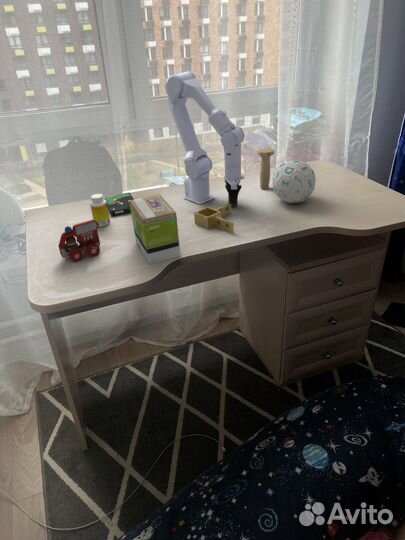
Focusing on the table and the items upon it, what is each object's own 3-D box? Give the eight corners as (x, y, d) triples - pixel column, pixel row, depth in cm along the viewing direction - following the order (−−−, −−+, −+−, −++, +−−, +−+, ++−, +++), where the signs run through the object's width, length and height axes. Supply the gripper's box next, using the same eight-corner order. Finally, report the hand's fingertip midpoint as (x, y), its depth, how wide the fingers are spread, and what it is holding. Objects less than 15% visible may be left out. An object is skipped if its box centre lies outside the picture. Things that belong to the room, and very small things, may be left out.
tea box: (134, 243, 129) (128, 199, 121) (165, 236, 132) (160, 192, 124) (148, 265, 117) (142, 218, 109) (181, 257, 120) (177, 210, 112)
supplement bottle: (112, 224, 141) (107, 196, 135) (96, 228, 139) (90, 200, 133) (108, 218, 145) (102, 191, 140) (92, 222, 143) (86, 194, 138)
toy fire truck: (59, 256, 124) (51, 225, 119) (98, 244, 129) (92, 214, 124) (65, 266, 119) (56, 234, 114) (106, 253, 124) (99, 222, 119)
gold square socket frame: (194, 223, 139) (194, 212, 136) (223, 210, 147) (223, 199, 145) (226, 236, 130) (225, 225, 128) (255, 221, 138) (255, 210, 136)
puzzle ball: (310, 211, 142) (315, 169, 134) (267, 207, 147) (269, 166, 139) (315, 195, 154) (319, 155, 146) (275, 192, 159) (277, 153, 151)
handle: (274, 189, 162) (276, 151, 154) (259, 191, 160) (260, 153, 152) (269, 184, 166) (271, 147, 157) (254, 187, 164) (255, 149, 156)
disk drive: (140, 212, 150) (130, 198, 161) (139, 205, 148) (129, 191, 160) (112, 218, 147) (104, 203, 158) (110, 211, 145) (103, 196, 157)
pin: (225, 206, 150) (225, 188, 146) (232, 203, 152) (232, 185, 148) (233, 209, 147) (233, 190, 144) (240, 205, 149) (240, 187, 146)
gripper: (246, 170, 135) (245, 208, 142) (242, 157, 147) (242, 193, 155) (224, 171, 135) (225, 209, 142) (223, 158, 147) (223, 193, 155)
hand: (233, 201), depth 149 cm, fingers open, 4 cm apart
